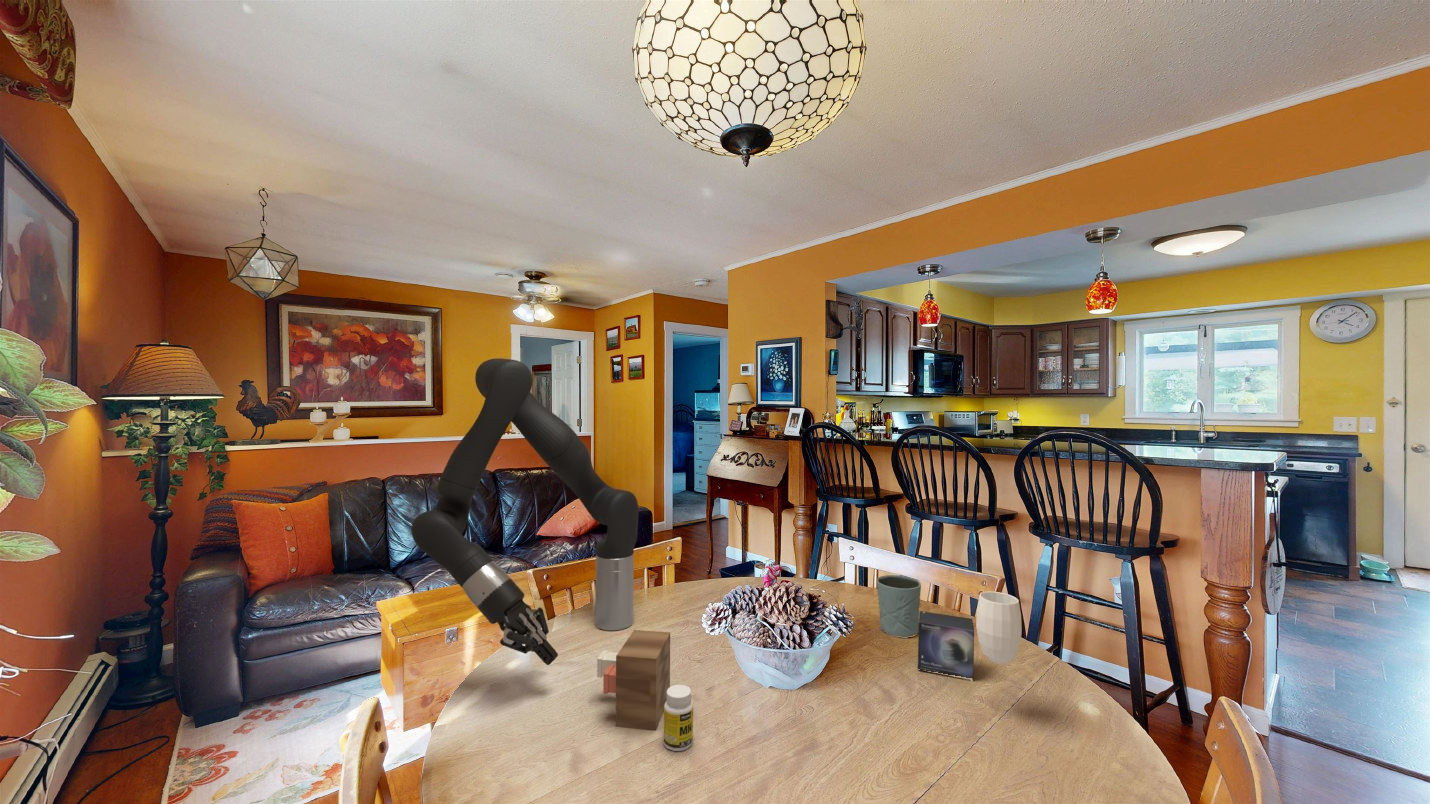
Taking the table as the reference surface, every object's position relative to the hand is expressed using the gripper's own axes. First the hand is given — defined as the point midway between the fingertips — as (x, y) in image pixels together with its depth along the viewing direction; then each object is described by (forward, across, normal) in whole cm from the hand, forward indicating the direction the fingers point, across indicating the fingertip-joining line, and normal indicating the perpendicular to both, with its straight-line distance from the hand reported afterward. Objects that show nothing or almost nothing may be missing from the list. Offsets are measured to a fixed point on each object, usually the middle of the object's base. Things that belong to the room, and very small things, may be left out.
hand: (553, 660), depth 101 cm
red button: (+12, -5, -10) cm, 17 cm away
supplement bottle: (+23, -10, -14) cm, 29 cm away
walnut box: (+17, -2, -8) cm, 20 cm away
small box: (+58, +22, -49) cm, 79 cm away
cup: (+62, +7, -52) cm, 81 cm away
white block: (+10, 0, -8) cm, 13 cm away
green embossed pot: (+54, +40, -45) cm, 81 cm away
